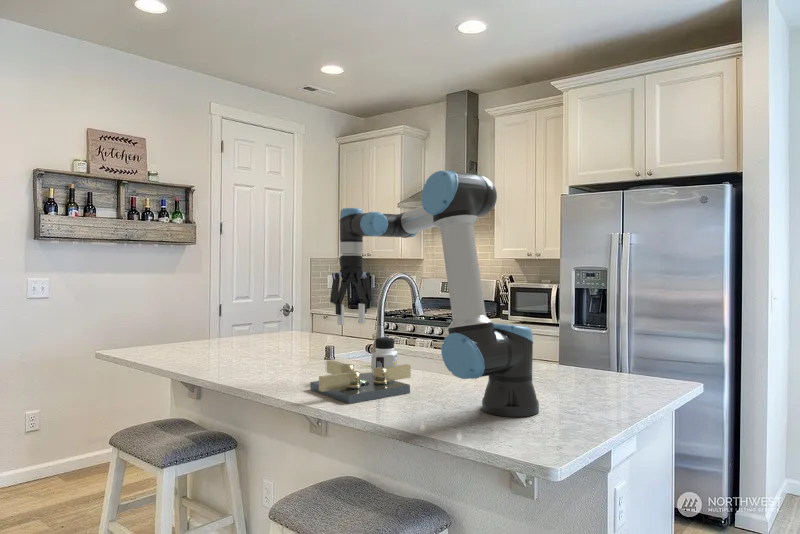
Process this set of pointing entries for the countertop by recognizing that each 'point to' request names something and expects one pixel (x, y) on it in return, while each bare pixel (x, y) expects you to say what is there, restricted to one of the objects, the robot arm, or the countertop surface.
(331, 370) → the brass lever handle
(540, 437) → the countertop surface
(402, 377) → the knob
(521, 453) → the countertop surface
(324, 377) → the knob
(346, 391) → the tribrach plate
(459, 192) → the robot arm
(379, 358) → the container
